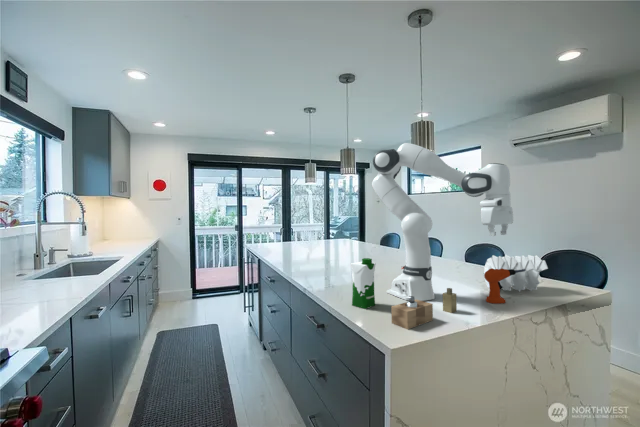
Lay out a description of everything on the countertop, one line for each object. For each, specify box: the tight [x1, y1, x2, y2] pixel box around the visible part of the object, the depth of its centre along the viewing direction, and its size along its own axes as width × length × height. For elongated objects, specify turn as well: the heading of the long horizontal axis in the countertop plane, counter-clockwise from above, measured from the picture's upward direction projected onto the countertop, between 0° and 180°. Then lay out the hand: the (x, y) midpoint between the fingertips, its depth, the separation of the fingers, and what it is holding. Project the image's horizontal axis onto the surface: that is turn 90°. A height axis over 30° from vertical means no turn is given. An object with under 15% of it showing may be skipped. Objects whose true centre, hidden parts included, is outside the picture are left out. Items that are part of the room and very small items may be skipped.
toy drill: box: [483, 268, 525, 304], centre depth 129 cm, size 5×19×15 cm, turn 93°
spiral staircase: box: [483, 254, 549, 293], centre depth 146 cm, size 18×18×25 cm
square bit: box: [442, 287, 458, 314], centre depth 118 cm, size 4×4×9 cm
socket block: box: [390, 299, 434, 330], centre depth 107 cm, size 7×14×6 cm, turn 125°
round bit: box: [406, 296, 417, 307], centre depth 107 cm, size 4×4×9 cm
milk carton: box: [350, 257, 376, 310], centre depth 127 cm, size 9×9×20 cm
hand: (498, 235), depth 124 cm, fingers open, 8 cm apart
